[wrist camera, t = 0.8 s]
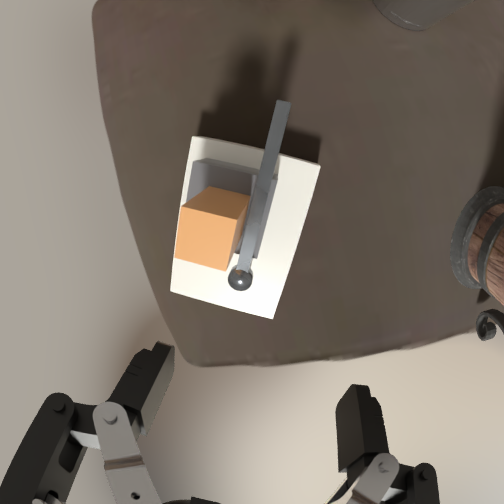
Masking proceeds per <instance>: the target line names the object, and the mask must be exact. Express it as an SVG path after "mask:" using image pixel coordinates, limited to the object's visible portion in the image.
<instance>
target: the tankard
mask: <svg viewBox="0 0 504 504" xmlns="http://www.w3.org/2000/svg"><path fill="white" fill-rule="evenodd" d="M450 258H451V266H452V269H453V272H454V275H455V276H456V278H457V280H458V281H459V282H460V283H461V284H462V285H464V286H466V287H468V288H472V289H479V288H483V289H484V290H485V291H486V292H487V293H488V294H489V295H490V296H492V297H493V298H496V299H497V300H498V301H499V302H500V303H501V304H502V305H503V306H504V188H503V187H499V186H491V187H487V188H485V189H482V190H481V191H479V192H478V193H477V194H475V195H474V196H473V197H472V198H471V199H470V201H469V202H468V203H467V204H466V206H465V207H464V209H463V210H462V212H461V214H460V216H459V218H458V220H457V222H456V225H455V229H454V232H453V235H452V241H451V250H450ZM488 317H490V318H491V319H493V320H494V321H495V322H496V323H497V324H498V326H499V327H500V328H501V330H502V332H503V333H504V314H503V313H502V312H500V311H498V310H495V309H490V310H487V311H483V312H481V313H480V314H479V316H478V318H477V321H476V330H477V334H478V336H479V338H480V339H481V340H482V341H485V340H488V339H491V338H493V337H494V336H495V334H496V326H495V325H494V323H492V322H488V323H487V319H488Z"/></svg>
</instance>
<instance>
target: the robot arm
mask: <svg viewBox="0 0 504 504" xmlns="http://www.w3.org/2000/svg"><path fill="white" fill-rule="evenodd" d="M473 1H475V0H373V2H374V4H375V5H376V7H377V8H378V9H379V11H380V12H381V13H382V14H383V15H384V16H385V17H387V18H388V19H389V20H391V21H392V22H393V23H395V24H397V25H399V26H401V27H403V28H406V29H409V30H414V31H421V30H426V29H427V28H429V27H431V26H432V25H434V24H436V23H437V22H439V21H441V20H442V19H444V18H446V17H447V16H449V15H450V14H452V13H454V12H456V11H457V10H459V9H461V8H462V7H464V6H466V5H468V4H469V3H471V2H473ZM174 350H175V349H174V346H173V345H169V344H166V343H163V342H160V341H158V342H157V343H156V344H155V346H154V348H153V349H152V351H150V350H147V349H143V350H141V351H140V352H138V353H137V354H135V355H134V357H133V359H132V360H131V362H130V365H129V366H128V367H127V369H126V371H125V372H124V374H123V376H122V377H121V379H120V381H119V382H118V384H117V386H116V387H115V389H114V391H113V393H112V394H111V396H110V398H109V399H108V400H107V401H105V402H104V403H101V404H99V405H86V404H80V403H75V402H73V401H72V399H71V398H70V397H69V396H68V395H66V394H64V393H53V394H51V395H49V396H48V397H47V398H46V400H45V401H44V403H43V405H42V406H41V408H40V410H39V411H38V414H37V415H36V417H35V418H34V420H33V422H32V424H31V426H30V427H29V429H28V431H27V433H26V435H25V436H24V438H23V440H22V442H21V444H20V446H19V448H18V450H17V452H16V454H15V456H14V458H13V460H12V462H11V464H10V466H9V468H8V470H7V473H6V475H5V477H4V479H3V481H2V484H1V486H0V504H65V502H66V500H67V497H68V495H69V492H70V489H71V487H72V484H73V482H74V479H75V477H76V474H77V472H78V469H79V467H80V464H81V462H82V460H83V457H84V455H85V452H86V450H87V448H88V447H92V448H98V449H101V452H102V455H103V459H104V469H105V473H106V476H107V479H108V482H109V485H110V488H111V490H112V493H113V496H114V498H115V501H116V503H117V504H162V502H161V500H160V498H159V496H158V494H157V492H156V490H155V488H154V485H153V483H152V481H151V479H150V477H149V474H148V472H147V469H146V467H145V464H144V462H143V460H142V457H141V454H140V451H139V449H138V446H137V444H136V442H137V439H138V437H139V435H140V434H142V435H145V436H147V434H148V432H149V430H150V427H151V425H152V422H153V420H154V418H155V415H156V413H157V411H158V408H159V406H160V404H161V401H162V399H163V397H164V394H165V392H166V390H167V388H168V385H169V383H170V381H171V378H172V375H173V372H174ZM382 416H383V415H382V410H381V406H380V404H379V403H378V401H377V399H376V398H375V397H371V394H370V389H369V387H368V386H365V385H356V384H352V385H351V386H350V387H349V389H348V390H347V391H346V393H345V394H344V395H343V397H342V398H341V399H340V401H339V402H338V404H337V407H336V428H337V444H338V468H339V472H347V478H346V479H344V481H343V482H342V483H341V484H340V486H339V487H338V488H337V489H336V491H335V492H334V493H333V494H332V495H331V496H330V497H329V499H328V500H327V501H326V502H325V503H324V504H440V501H439V491H438V483H437V476H436V471H435V469H434V467H433V466H432V465H430V464H428V463H421V464H419V465H417V466H416V467H412V466H407V465H403V464H400V463H398V460H397V459H396V458H395V457H394V456H393V455H391V454H390V453H389V448H388V443H387V436H386V431H385V426H384V420H383V417H382ZM163 504H220V503H217V502H213V501H208V500H204V499H199V498H195V497H191V500H174V501H169V502H166V503H163Z"/></svg>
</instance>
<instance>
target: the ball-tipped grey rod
mask: <svg viewBox="0 0 504 504" xmlns="http://www.w3.org/2000/svg"><path fill="white" fill-rule="evenodd" d="M290 107H291V103H289V102H285V101H281V100H277V102H276V106H275V110H274V114H273V118H272V122H271V126H270V130H269V134H268V138H267V142H266V146H265V150H264V154H263V158H262V162H261V166H260V170H259V175H258V179H257V183H256V187H255V191H254V195H253V199H252V204H251V208H250V212H249V216H248V220H247V225H246V229H245V233H244V237H243V242H242V246H241V250H240V254H239V259H238V263H237V265H235V266H234V267H232V269H231V271H230V273H229V275H228V283H229V285H230V287H231V288H233V289H234V290H237V291H245V290H247V289H249V288H250V286H251V284H252V280H253V271H252V270H251V268H250V264H251V260H252V256H253V252H254V249H255V245H256V241H257V237H258V233H259V229H260V225H261V221H262V217H263V213H264V209H265V206H266V202H267V198H268V194H269V190H270V186H271V182H272V178H273V174H274V170H275V166H276V162H277V159H278V155H279V151H280V147H281V143H282V139H283V135H284V131H285V127H286V123H287V119H288V115H289V111H290Z"/></svg>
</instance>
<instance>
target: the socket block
mask: <svg viewBox="0 0 504 504" xmlns="http://www.w3.org/2000/svg"><path fill="white" fill-rule="evenodd" d="M264 150H265V149H261V148H257V147H253V146H248V145H244V144H239V143H234V142H230V141H225V140H220V139H214V138H209V137H204V136H192V141H191V146H190V151H189V156H188V162H187V167H186V173H185V179H184V185H183V191H182V198H181V204H180V209H181V206H182V205H183V204H185V203H186V199H187V192H188V186H189V180H190V175H191V169H192V164H193V161H195V160H202V161H206V162H211V163H216V164H221V165H225V166H230V167H234V168H239V169H243V170H247V171H251V172H255V173H259V170H260V166H261V162H262V158H263V154H264ZM320 167H321V166H320V165H319V164H317V163H314V162H310V161H307V160H303V159H300V158H296V157H293V156H289V155H285V154H281V153H279V155H278V159H277V162H276V166H275V170H274V174H273V177H275V178H278V181H277V185H276V189H275V193H274V197H273V201H272V204H271V208H270V212H269V216H268V220H267V223H266V227H265V231H264V235H263V239H262V242H261V246H260V250H259V254H258V257H257V259H255V258H252V260H251V264H250V268H251V270H252V271H253V280H252V284H251V286H250V288H249V289H247V290H245V291H237V290H234V289H233V288H231V287H230V285H229V283H228V275H229V273H230V271H231V269H232V267H234V266H235V265H237V263H238V259H239V254H236V253H234V254H233V257H232V259H231V261H230V264H229V266H228V268H227V270H226V272H225V271H221V270H218V269H214V268H210V267H207V266H203V265H199V264H196V263H192V262H188V261H185V260H181V259H178V258H174V259H173V268H172V278H171V289H170V291H172V292H175V293H179V294H182V295H185V296H189V297H192V298H196V299H199V300H203V301H206V302H210V303H213V304H217V305H220V306H224V307H228V308H232V309H235V310H239V311H243V312H247V313H251V314H255V315H259V316H263V317H267V318H271V319H273V316H274V313H275V310H276V307H277V304H278V301H279V298H280V296H281V293H282V290H283V287H284V284H285V281H286V278H287V275H288V272H289V269H290V265H291V262H292V259H293V256H294V253H295V250H296V247H297V244H298V240H299V237H300V234H301V231H302V228H303V224H304V221H305V218H306V215H307V211H308V208H309V205H310V201H311V198H312V195H313V191H314V188H315V184H316V181H317V177H318V174H319V170H320ZM179 216H180V211H179ZM178 223H179V218H178ZM177 231H178V226H177ZM176 239H177V233H176ZM175 247H176V241H175ZM174 256H175V250H174Z"/></svg>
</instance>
